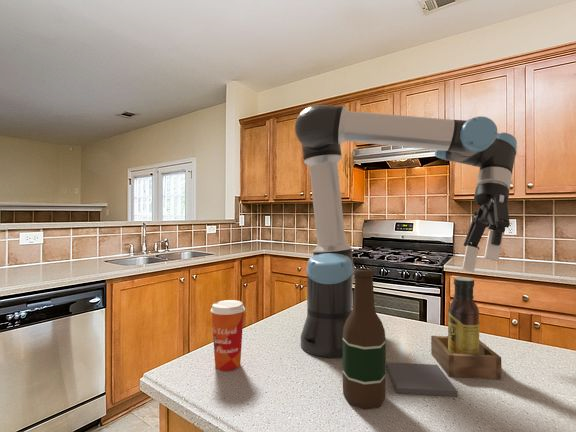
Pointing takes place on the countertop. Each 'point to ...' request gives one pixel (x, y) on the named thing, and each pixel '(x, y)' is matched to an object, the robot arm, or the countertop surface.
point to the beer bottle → (364, 347)
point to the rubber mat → (420, 379)
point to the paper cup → (227, 333)
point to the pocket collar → (466, 360)
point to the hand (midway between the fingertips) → (478, 265)
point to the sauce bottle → (463, 319)
